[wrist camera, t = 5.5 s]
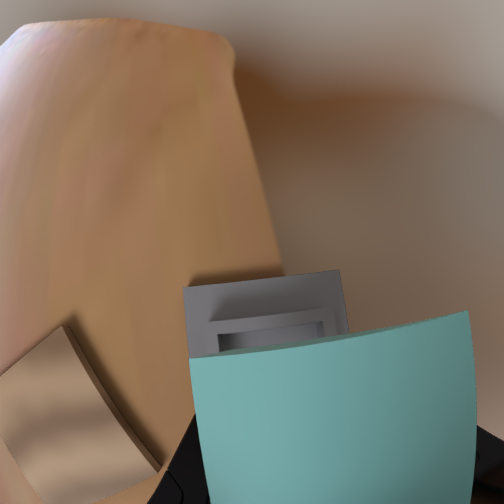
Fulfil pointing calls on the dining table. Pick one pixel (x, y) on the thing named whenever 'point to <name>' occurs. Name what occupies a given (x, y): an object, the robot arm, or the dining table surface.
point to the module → (342, 418)
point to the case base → (264, 312)
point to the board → (68, 426)
